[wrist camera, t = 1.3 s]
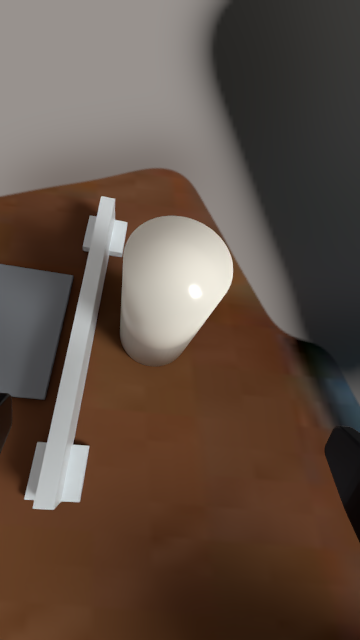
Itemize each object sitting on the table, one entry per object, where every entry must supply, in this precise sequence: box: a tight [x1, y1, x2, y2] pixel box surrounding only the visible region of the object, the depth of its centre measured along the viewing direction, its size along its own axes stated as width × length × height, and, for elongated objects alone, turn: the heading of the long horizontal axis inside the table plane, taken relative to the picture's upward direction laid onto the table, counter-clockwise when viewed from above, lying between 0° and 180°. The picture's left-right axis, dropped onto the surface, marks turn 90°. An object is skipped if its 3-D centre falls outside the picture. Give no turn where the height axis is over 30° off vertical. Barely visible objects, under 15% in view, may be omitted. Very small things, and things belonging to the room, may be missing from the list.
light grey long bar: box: [24, 196, 127, 510], centre depth 21 cm, size 20×3×3 cm, turn 176°
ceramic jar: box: [120, 216, 233, 366], centre depth 18 cm, size 5×5×10 cm
